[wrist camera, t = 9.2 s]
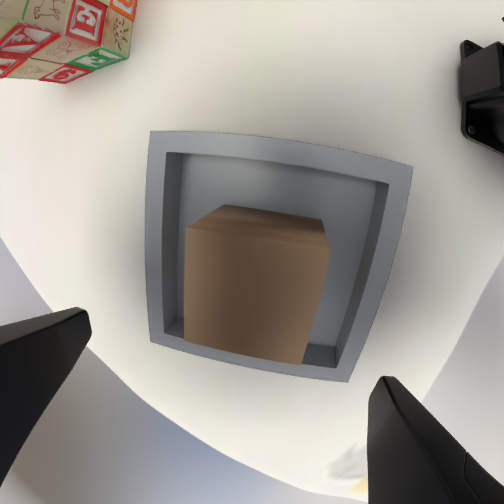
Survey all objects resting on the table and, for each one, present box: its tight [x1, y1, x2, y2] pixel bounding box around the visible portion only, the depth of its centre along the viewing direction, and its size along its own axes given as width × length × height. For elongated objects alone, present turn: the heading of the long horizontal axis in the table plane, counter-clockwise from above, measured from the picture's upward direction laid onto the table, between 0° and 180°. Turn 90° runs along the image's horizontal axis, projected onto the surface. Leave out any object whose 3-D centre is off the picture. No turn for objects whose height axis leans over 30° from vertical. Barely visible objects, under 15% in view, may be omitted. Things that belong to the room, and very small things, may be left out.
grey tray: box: [145, 131, 413, 383], centre depth 14 cm, size 12×12×2 cm
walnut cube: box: [184, 204, 331, 366], centre depth 13 cm, size 5×5×5 cm
